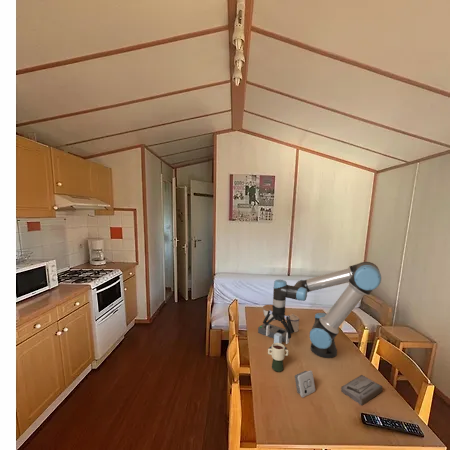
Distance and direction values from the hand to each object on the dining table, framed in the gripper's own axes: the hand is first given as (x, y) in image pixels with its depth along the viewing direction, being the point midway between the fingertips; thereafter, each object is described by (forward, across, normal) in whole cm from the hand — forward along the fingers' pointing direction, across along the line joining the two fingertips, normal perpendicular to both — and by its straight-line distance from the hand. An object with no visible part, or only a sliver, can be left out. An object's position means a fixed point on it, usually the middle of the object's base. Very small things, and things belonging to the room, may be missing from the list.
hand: (277, 339), depth 158 cm
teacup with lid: (+7, +6, -31) cm, 32 cm away
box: (+7, -49, +6) cm, 49 cm away
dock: (+7, 0, 0) cm, 7 cm away
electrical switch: (+7, -27, +24) cm, 37 cm away
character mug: (+7, -9, +17) cm, 21 cm away
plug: (+7, 0, 0) cm, 7 cm away
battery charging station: (+7, +11, -16) cm, 21 cm away
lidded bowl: (+8, +26, -38) cm, 47 cm away
